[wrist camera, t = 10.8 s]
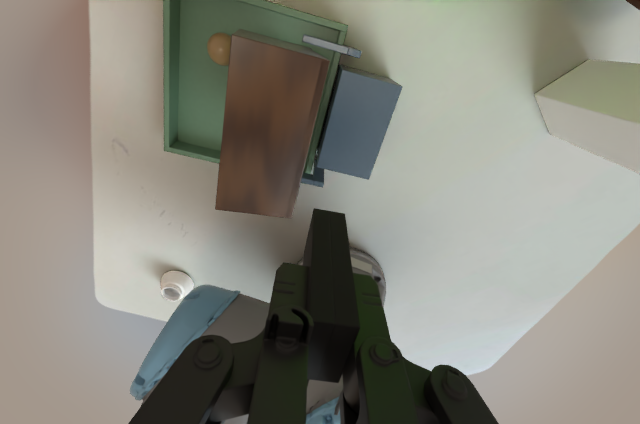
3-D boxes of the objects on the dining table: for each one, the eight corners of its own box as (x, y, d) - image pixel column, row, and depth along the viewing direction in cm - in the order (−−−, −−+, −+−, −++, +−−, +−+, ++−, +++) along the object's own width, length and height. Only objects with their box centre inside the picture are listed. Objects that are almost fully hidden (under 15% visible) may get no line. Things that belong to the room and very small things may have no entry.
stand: (358, 174, 40) (364, 197, 34) (282, 155, 39) (275, 176, 33) (397, 60, 33) (412, 65, 28) (306, 34, 32) (303, 33, 26)
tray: (308, 174, 40) (307, 184, 38) (174, 142, 38) (163, 150, 36) (346, 26, 32) (348, 25, 29) (176, -25, 30) (162, -31, 27)
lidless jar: (181, 296, 51) (200, 283, 50) (173, 310, 49) (194, 296, 47) (156, 278, 49) (176, 264, 48) (147, 292, 47) (168, 277, 45)
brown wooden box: (296, 219, 25) (215, 209, 23) (286, 167, 34) (226, 157, 32) (336, 62, 19) (231, 33, 18) (311, 48, 28) (239, 28, 26)
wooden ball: (241, 69, 33) (226, 69, 30) (217, 61, 33) (199, 61, 31) (244, 38, 31) (229, 35, 29) (219, 30, 32) (201, 27, 29)
